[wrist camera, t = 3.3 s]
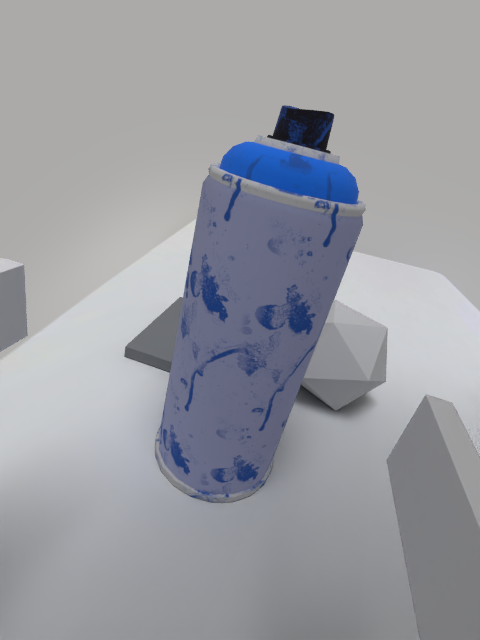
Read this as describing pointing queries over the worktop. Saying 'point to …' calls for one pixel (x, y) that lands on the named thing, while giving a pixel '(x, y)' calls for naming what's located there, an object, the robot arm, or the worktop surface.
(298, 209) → the aerosol can
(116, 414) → the worktop surface
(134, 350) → the mat
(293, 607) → the worktop surface
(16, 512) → the worktop surface
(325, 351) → the die
